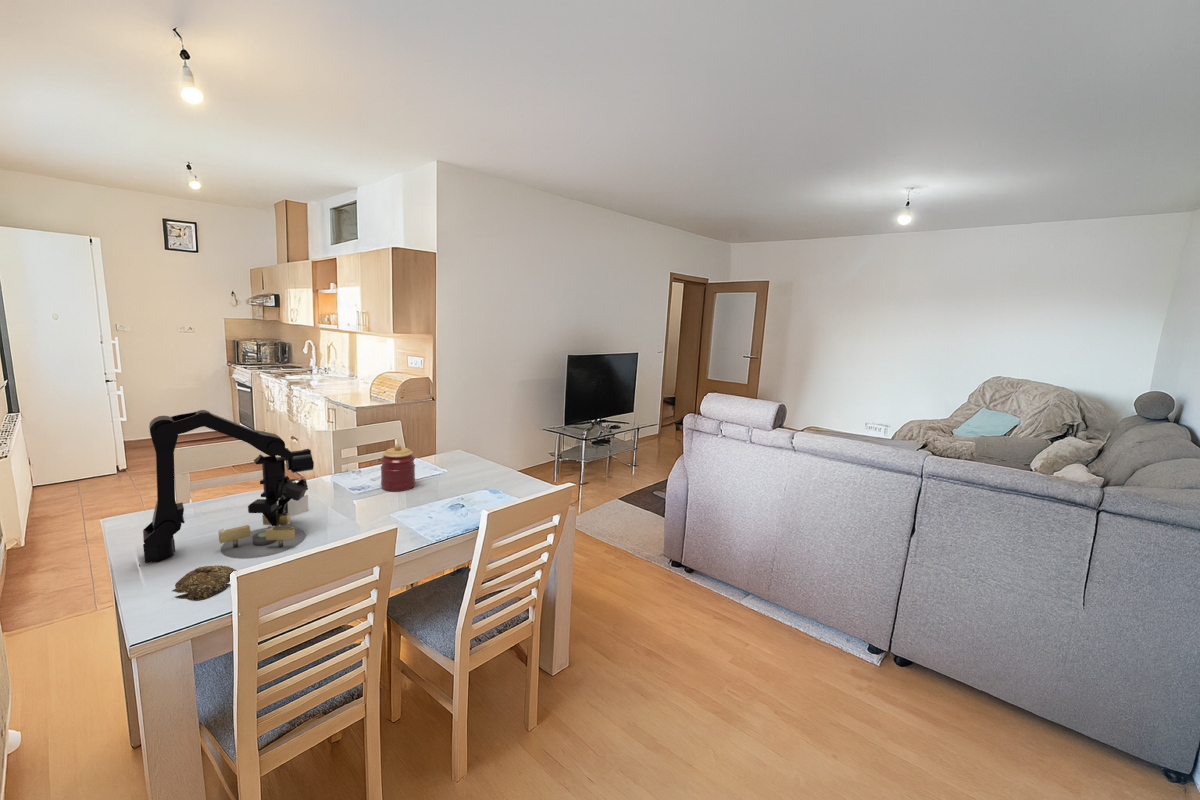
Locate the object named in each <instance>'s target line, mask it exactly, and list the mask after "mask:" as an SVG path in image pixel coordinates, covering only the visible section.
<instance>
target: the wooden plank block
mask: <svg viewBox="0 0 1200 800" xmlns="http://www.w3.org/2000/svg"><path fill="white" fill-rule="evenodd" d="M290 523H291V516H290V513H278V515H277V524H276V526H274V527H275V528H280V527H281V526H288V525H289V524H290ZM262 525H263V526H272V525H271V524H270V522H269V521H268V520H267V518H266V517H265V516H264V514H263V513H262Z"/></svg>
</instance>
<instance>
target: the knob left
mask: <svg viewBox="0 0 1200 800" xmlns="http://www.w3.org/2000/svg"><path fill="white" fill-rule="evenodd" d="M250 531H251V526H250V525H249V524H245V525H241V526H236V527H233V528H228V529H224V528H222V529H218V531H217V532H218V541H219V543H220V544H224V543H226V542H229V541H233V548H237V547H238V539H242V538H246V537H250Z"/></svg>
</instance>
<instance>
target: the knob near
mask: <svg viewBox="0 0 1200 800" xmlns="http://www.w3.org/2000/svg"><path fill="white" fill-rule="evenodd" d="M273 527H274V526H272V525H268V526H267V527H265V528H266V529H265V532H266V540H278V544H279V548H281V547H283V546H284V545H283V540H293V539H294V538H295V528H296V527H295V528H273Z"/></svg>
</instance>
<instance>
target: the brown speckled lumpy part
mask: <svg viewBox="0 0 1200 800" xmlns="http://www.w3.org/2000/svg"><path fill="white" fill-rule="evenodd" d="M233 571H237V569H235V568H233V567H230V566H228V565H219V564H218V565H207V566H206V565H205V566H199V567H197V568H195V569H192V570H191V571H189V572H188V573H186V574H185V575H183V576H182V577H181V578H180V579H178V581H177V582H176V583H174V584H175V585H174V586H175V588H174V589H172V590H171V592H175V593H177V594H179V595H176V596H174V598H176V599H179V600H189V601H192V602H193V601H202V600H206V599H208V598H210V597H212V596H215V595H216V594H218V593H220V592H221V591H223V590H225V589H226V588H228V587H230V586H231V583H230V582H231V581H230V574H231V573H232V572H233ZM182 593H183V594H182Z"/></svg>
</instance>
